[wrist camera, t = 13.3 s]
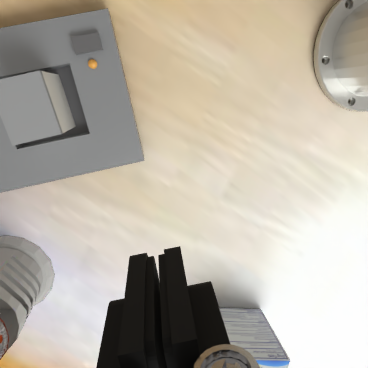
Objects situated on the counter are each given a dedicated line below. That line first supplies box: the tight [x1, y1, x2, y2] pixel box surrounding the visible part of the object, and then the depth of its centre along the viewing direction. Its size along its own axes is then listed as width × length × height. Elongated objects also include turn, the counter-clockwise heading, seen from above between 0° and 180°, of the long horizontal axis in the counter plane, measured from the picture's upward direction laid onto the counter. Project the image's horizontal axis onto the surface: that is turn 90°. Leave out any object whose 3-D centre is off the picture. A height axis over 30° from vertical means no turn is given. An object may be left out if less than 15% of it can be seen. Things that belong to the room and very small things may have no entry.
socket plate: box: [0, 8, 144, 193], centre depth 29 cm, size 16×14×3 cm
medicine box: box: [219, 308, 290, 368], centre depth 37 cm, size 8×4×9 cm, turn 80°
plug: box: [0, 70, 76, 146], centre depth 27 cm, size 4×5×6 cm
